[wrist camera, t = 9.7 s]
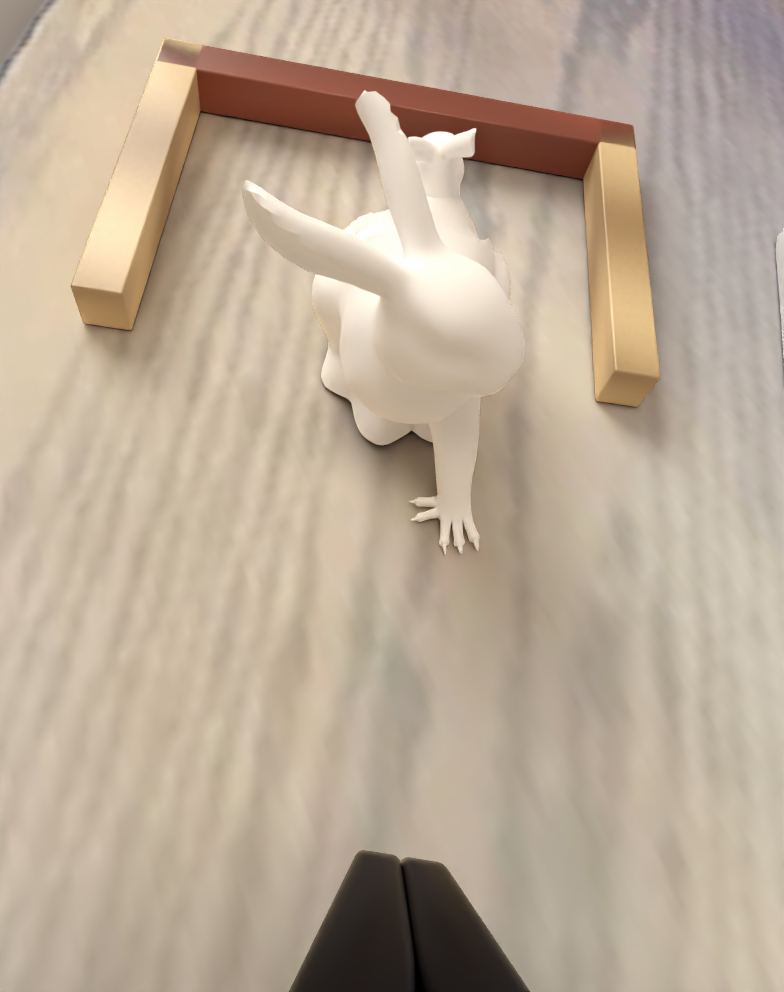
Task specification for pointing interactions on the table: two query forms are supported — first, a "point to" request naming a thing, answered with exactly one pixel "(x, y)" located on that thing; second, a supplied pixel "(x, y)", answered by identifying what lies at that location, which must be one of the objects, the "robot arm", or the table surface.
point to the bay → (331, 109)
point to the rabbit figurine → (409, 305)
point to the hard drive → (781, 276)
